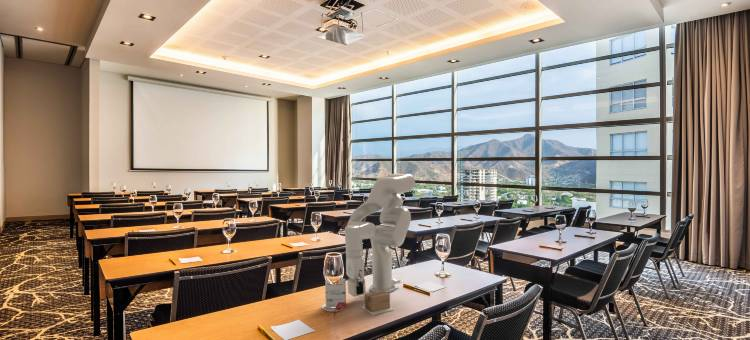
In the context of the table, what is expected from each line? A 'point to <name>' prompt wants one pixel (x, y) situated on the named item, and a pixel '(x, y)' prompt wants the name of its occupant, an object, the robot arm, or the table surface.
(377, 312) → the mat
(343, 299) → the ink box
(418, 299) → the table surface
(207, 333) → the table surface
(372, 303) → the walnut brick
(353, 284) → the cream brick
